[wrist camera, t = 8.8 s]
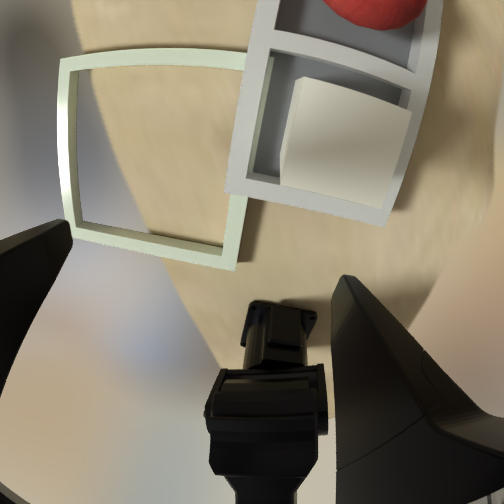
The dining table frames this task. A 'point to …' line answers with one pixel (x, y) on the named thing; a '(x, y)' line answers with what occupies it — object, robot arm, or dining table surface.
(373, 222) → the grey divided tray
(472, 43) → the dining table surface
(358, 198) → the cream block
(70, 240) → the robot arm
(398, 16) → the onion
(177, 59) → the pale green square frame
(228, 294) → the dining table surface
